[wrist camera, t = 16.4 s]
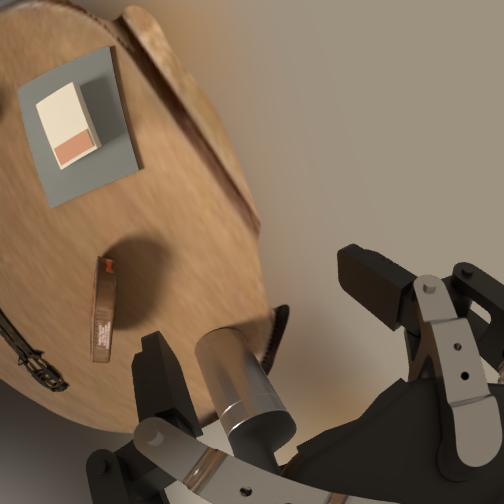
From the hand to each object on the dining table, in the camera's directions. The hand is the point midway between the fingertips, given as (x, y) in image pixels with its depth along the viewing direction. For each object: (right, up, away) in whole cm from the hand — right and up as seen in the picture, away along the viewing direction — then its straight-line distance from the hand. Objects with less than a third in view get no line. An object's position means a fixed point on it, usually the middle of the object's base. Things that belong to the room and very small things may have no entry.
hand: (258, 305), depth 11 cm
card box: (-20, +16, +12) cm, 28 cm away
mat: (-20, +16, +12) cm, 29 cm away
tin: (-21, -4, +23) cm, 31 cm away
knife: (-39, -13, +20) cm, 46 cm away
